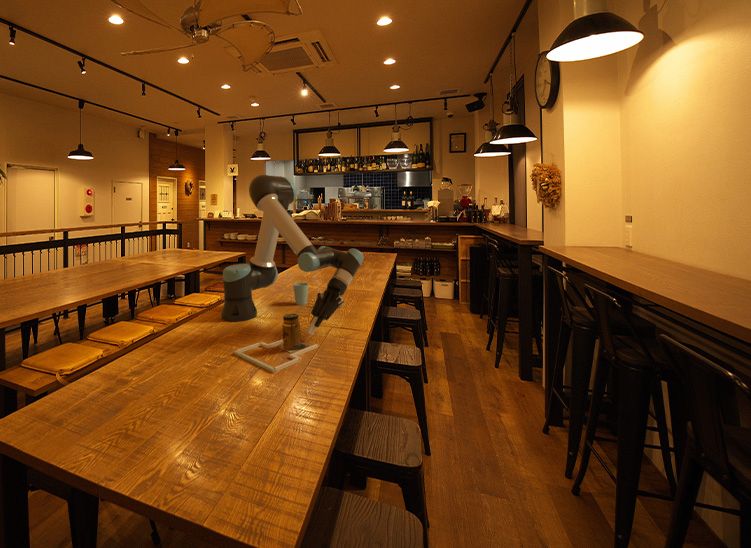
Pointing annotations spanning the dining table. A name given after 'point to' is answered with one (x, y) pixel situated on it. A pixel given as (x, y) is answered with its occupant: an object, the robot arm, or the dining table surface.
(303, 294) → the cup
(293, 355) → the t outline
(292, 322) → the condiment
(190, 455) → the dining table surface
